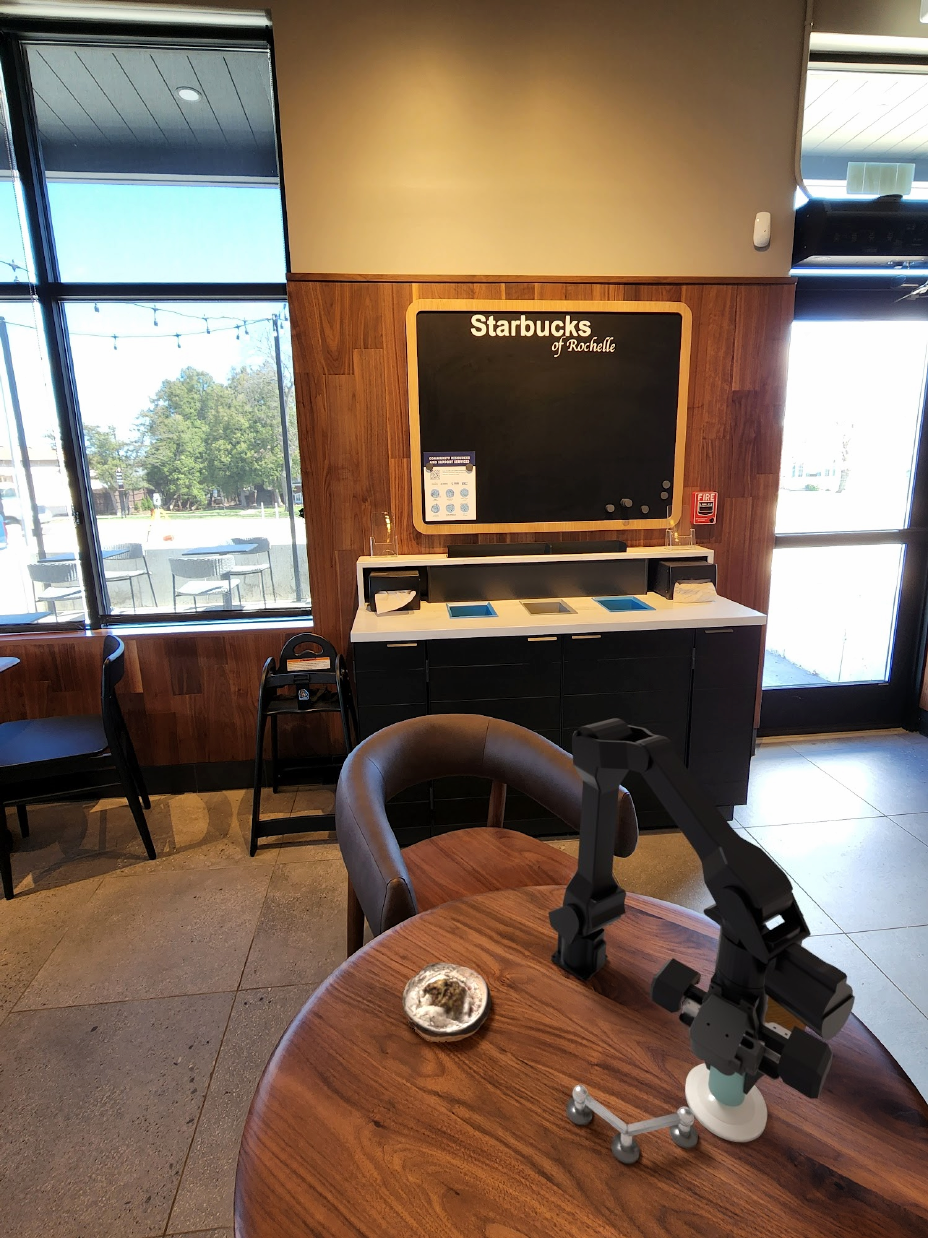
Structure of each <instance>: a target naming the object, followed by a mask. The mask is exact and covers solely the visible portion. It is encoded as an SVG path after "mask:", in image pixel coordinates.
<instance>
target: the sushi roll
mask: <svg viewBox="0 0 928 1238" xmlns="http://www.w3.org/2000/svg"><path fill="white" fill-rule="evenodd" d="M413 975H414V976H413V977H412V978H410V979H409V980H408V982H407V983H406V985H405V987H404V989H405V990H404V989H403V990H404V991H403V993H402V995H401V996H402V997H401V1001H402V1007H403V1013H404V1015H407V1016H408V1018H407V1019H408V1021H409V1024H410V1026H411V1027H413V1028H414V1029H415V1030H416V1031H417V1032H418V1033H419V1034H420V1035H421V1036H422V1037H423V1038H425V1039H427V1040H429V1041H432V1042H437V1043H448V1042H457V1041H461V1040H463V1039H465V1038H468V1037H470V1036H472V1035H473V1034H475V1032H477V1031H478V1030H480V1027H481V1026H482V1024H484V1023H486V1022H487V1021H488V1018H489V1016H490V1009H491V1005H492V1004H491V1003H492V1001H491V999H492V997H491V991H490V987H489V984H488V983H487V981H486V980H485V979H484V977H483V976H482V975H480V974H479V973H478V972H477V971H476V970H473V969H471V968H468V967H466V966H460V965H457V964H452V963H451V964H450V963H447V962H435V963H433V962H431V963H429V964H426V965H424V966H423V969H420V970H419V971H417V974H416V973H414V974H413ZM414 1029H413V1030H414ZM439 1041H440V1042H439ZM445 1041H447V1042H445Z"/></svg>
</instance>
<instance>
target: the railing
mask: <svg viewBox="0 0 928 1238" xmlns="http://www.w3.org/2000/svg"><path fill="white" fill-rule="evenodd" d="M593 1112H594V1113H595V1114H597V1115H598V1116H599V1117H600V1118H602V1119H603V1120H604V1121H606V1122H607V1123H608V1124H610V1125H611V1126H612V1127H613V1128H614V1129H616V1130H617V1131H618V1132H619V1133H616V1134H615V1135H614V1136H613V1137H612V1139H611V1147H610V1148H611V1151H612V1154H613V1156H614V1157H615V1159H616V1160H618V1161H619V1162H620V1163H622V1164H625V1165H633V1164H635V1163H636V1162H637V1161H638V1159H639V1157H640V1146H639V1144H638V1142H637V1140H636V1139H635V1138H634V1137H633V1136H636V1135H640V1134H644V1133H649V1132H652V1131H653V1132H654V1131H656V1130H660V1129H661V1130H662V1129H664V1128H668V1127H669V1135H670V1137H671V1140H672V1141H673V1142H674V1144H676V1145H677V1146H679V1147H680V1148H682V1149H686V1150H688V1149H693V1148H695V1147H696V1145H697V1144H698V1132H697V1130H696V1128H695V1126H694V1125H693V1124H694V1122H695V1121H694V1120H695V1116H694V1115H693V1113H692V1111H691V1110H690V1108H689V1106H688V1107H687V1106H681V1107H679V1108H678V1109H677V1111H676V1112H674V1113H671V1114H666V1115H663V1116H658V1117H654V1118H650V1119H645V1120H642V1121H637V1122H634V1123H630V1124H626V1122H624V1121H623V1120H621V1119H620V1118H619V1117H618V1116H617V1115H615V1114H614V1113H612V1112H611V1111H610V1110H609V1109H607V1108H606V1107H605V1106H603V1105H602V1104H601V1103H600V1102H599V1101H597V1100H596V1099H594V1098H593V1097H592V1096H591V1095H590V1094H589V1092H588V1090H587V1088H586V1087H585V1086H584V1085H583V1084H577V1085H575V1086H574V1088H573V1090H572V1098H570V1099H569V1100H568V1102H567V1103H566V1115H567V1118H568V1119H569V1120H570V1121H571V1122H572V1123H573V1124H575V1125H578V1126H586V1125H588V1124H589V1123H590V1122H591V1121H592V1119H593Z"/></svg>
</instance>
